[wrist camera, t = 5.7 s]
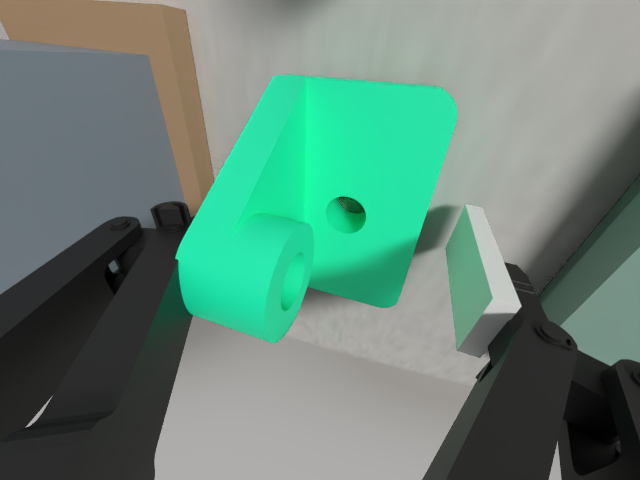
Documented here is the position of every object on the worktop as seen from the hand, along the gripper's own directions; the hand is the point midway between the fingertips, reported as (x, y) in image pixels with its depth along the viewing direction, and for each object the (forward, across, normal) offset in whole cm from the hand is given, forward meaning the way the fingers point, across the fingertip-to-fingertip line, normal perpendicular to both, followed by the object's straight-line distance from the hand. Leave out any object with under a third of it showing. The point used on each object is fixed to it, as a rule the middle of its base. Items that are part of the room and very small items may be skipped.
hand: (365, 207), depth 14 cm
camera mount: (+1, +1, 0) cm, 2 cm away
